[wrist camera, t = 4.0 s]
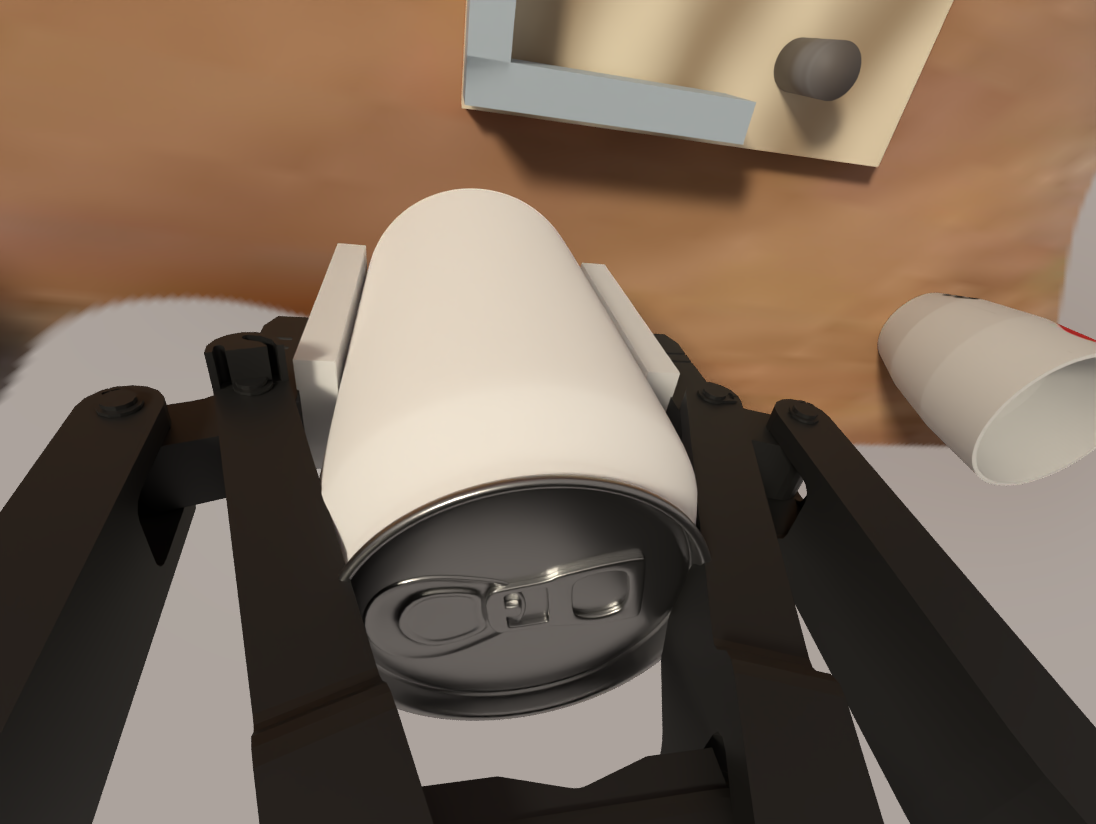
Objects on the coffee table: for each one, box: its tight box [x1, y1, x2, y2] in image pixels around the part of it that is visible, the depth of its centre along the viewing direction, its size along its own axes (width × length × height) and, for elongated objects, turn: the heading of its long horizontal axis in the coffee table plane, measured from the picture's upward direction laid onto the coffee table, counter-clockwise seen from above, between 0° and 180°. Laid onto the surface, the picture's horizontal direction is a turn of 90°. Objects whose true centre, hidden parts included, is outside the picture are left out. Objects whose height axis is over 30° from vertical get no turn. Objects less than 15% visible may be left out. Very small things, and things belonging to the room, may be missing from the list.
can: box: [319, 189, 711, 721], centre depth 13 cm, size 6×6×12 cm
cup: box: [878, 293, 1096, 486], centre depth 31 cm, size 8×8×10 cm
